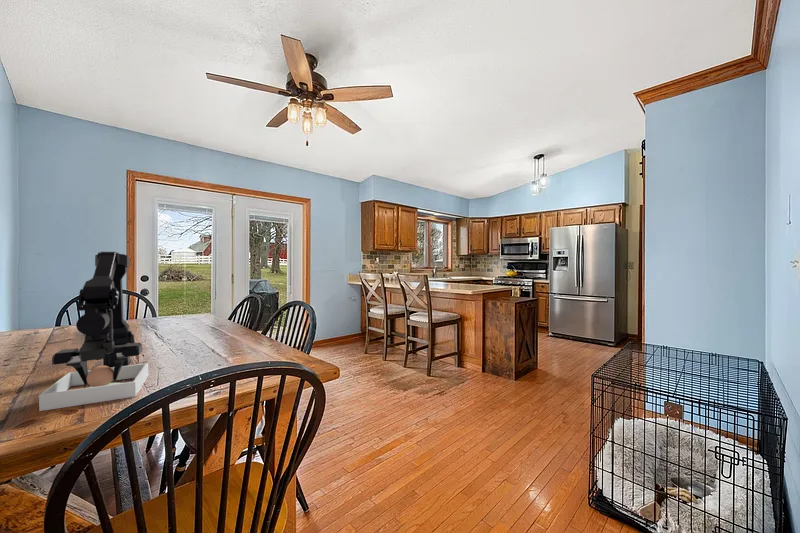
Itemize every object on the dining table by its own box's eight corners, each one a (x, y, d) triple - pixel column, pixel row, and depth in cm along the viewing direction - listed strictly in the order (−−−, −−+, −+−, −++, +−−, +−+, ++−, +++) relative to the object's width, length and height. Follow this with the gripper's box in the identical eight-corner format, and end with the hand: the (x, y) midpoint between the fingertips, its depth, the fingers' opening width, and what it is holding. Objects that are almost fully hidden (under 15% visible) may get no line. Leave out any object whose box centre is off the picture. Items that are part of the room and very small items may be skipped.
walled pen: (148, 375, 111) (148, 363, 111) (135, 396, 94) (135, 381, 94) (69, 385, 102) (69, 372, 102) (39, 411, 85) (38, 395, 85)
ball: (117, 381, 102) (116, 361, 102) (111, 388, 97) (111, 367, 96) (90, 385, 99) (90, 364, 99) (83, 392, 94) (82, 370, 94)
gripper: (41, 337, 86) (43, 399, 86) (134, 330, 95) (135, 386, 95) (60, 329, 96) (61, 384, 96) (142, 323, 105) (143, 374, 105)
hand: (100, 382), depth 98 cm, fingers closed on ball, 6 cm apart
